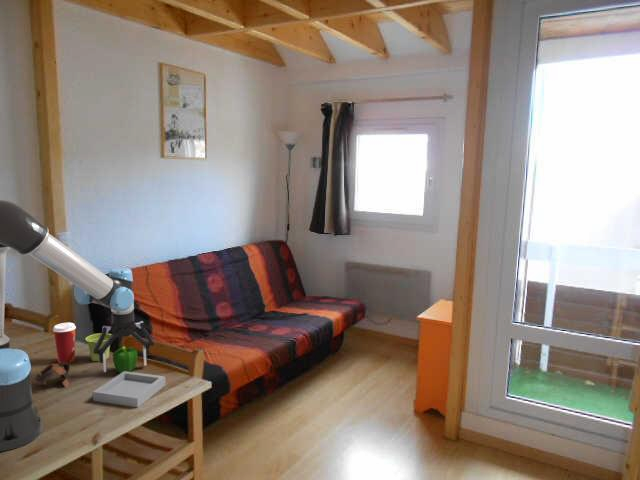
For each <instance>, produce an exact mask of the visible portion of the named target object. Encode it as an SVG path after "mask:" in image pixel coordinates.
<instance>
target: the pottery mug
mask: <svg viewBox="0 0 640 480" xmlns="http://www.w3.org/2000/svg"><path fill="white" fill-rule="evenodd" d="M69 372H70V363H67V362H62V363H59V364H58V365H56V363H51V364H49V365H47V366H46V367H45V368H43V369H42V370H40V373H37V374H36V375H35V377H34V380H35V381H36V386H40V385H41V386H42V385H44V386H45V385H47V383H46V381H47V380H55V379H56V375H55V373H56V374H58V375H59V376H60V378H61V379H62V378H64V380H62V383H61V385H63V387H64V388H67V387H68V386H69V385H70V384H71V382H72V381H71V379H70V376H69Z"/></svg>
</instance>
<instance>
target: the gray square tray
mask: <svg viewBox="0 0 640 480" xmlns="http://www.w3.org/2000/svg"><path fill="white" fill-rule="evenodd" d="M166 379H167V378H166V376H163V375H157V374H155V375H154V374H148V373H140V372H134V371H131V372H127V371H124V372H122V373H119V374H118V375H116V376H114V377H113V378H111V379H110V380H109V381H107V382H106V383H104V384H102V385H101V386H100V387H98V388H96V389H95V390H93V391H92V399H93V402H99V403H104V404H105V403H106V404H107V403H108V404H112V405H119V406H125V407H130V408H131V407H133V408H139V407H140V406H142V405H143V404H144V403H146V402H147V401H148V400H149V399H150V398H151V397H153V396H154V395H155V394H156V393H158V392H159V391H161V390H162V389H163V388H164V387H166V385H167V384H166V383H167V382H166Z"/></svg>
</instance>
